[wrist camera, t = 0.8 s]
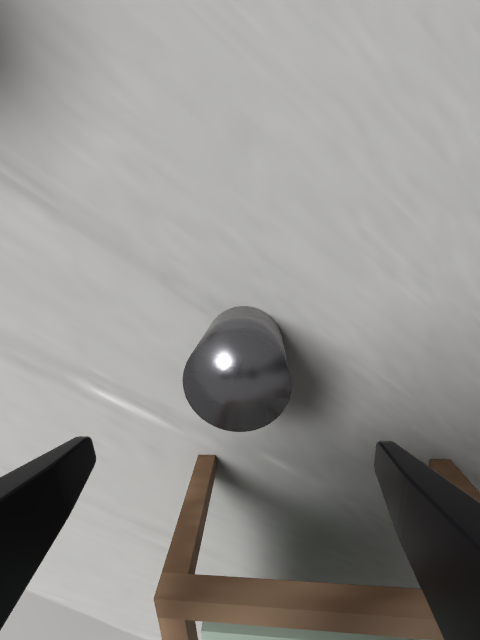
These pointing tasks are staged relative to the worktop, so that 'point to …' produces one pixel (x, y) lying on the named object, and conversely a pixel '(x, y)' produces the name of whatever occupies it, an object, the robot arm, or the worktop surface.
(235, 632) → the trapdoor
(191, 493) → the stand
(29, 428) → the worktop surface
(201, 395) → the cylinder
